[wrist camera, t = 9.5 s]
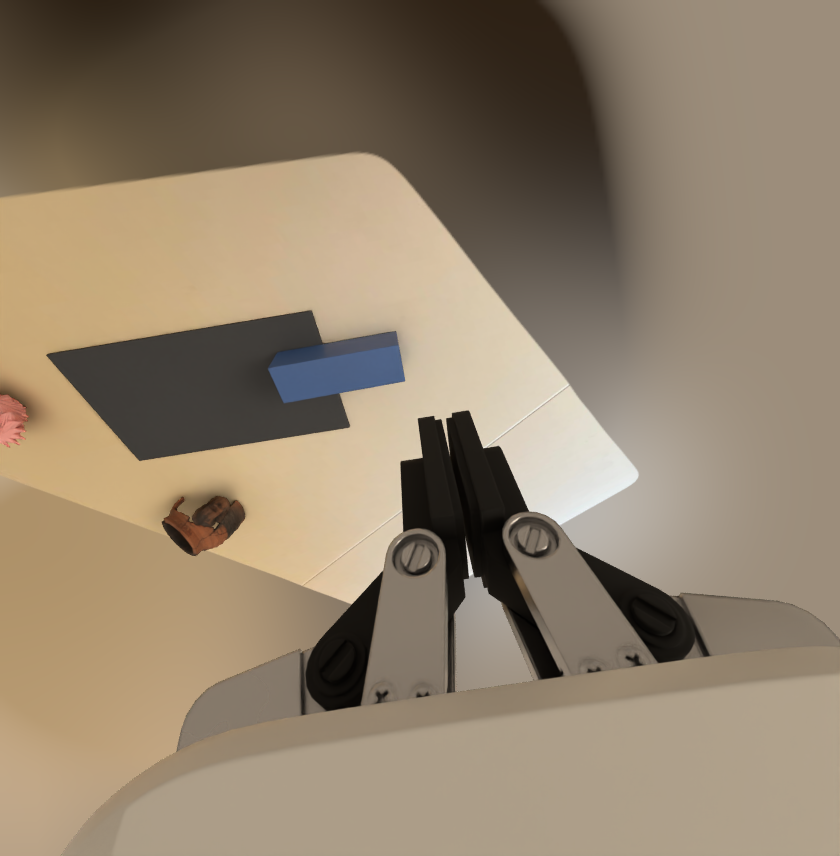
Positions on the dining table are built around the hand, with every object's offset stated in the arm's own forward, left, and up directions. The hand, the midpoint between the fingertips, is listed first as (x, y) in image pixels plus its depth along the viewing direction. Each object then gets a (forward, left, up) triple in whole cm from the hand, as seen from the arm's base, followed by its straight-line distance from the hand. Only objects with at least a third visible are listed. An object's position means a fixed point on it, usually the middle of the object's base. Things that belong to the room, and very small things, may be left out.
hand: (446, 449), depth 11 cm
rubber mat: (+10, -26, -29) cm, 40 cm away
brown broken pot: (+29, -36, -29) cm, 55 cm away
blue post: (+8, -2, -27) cm, 28 cm away
